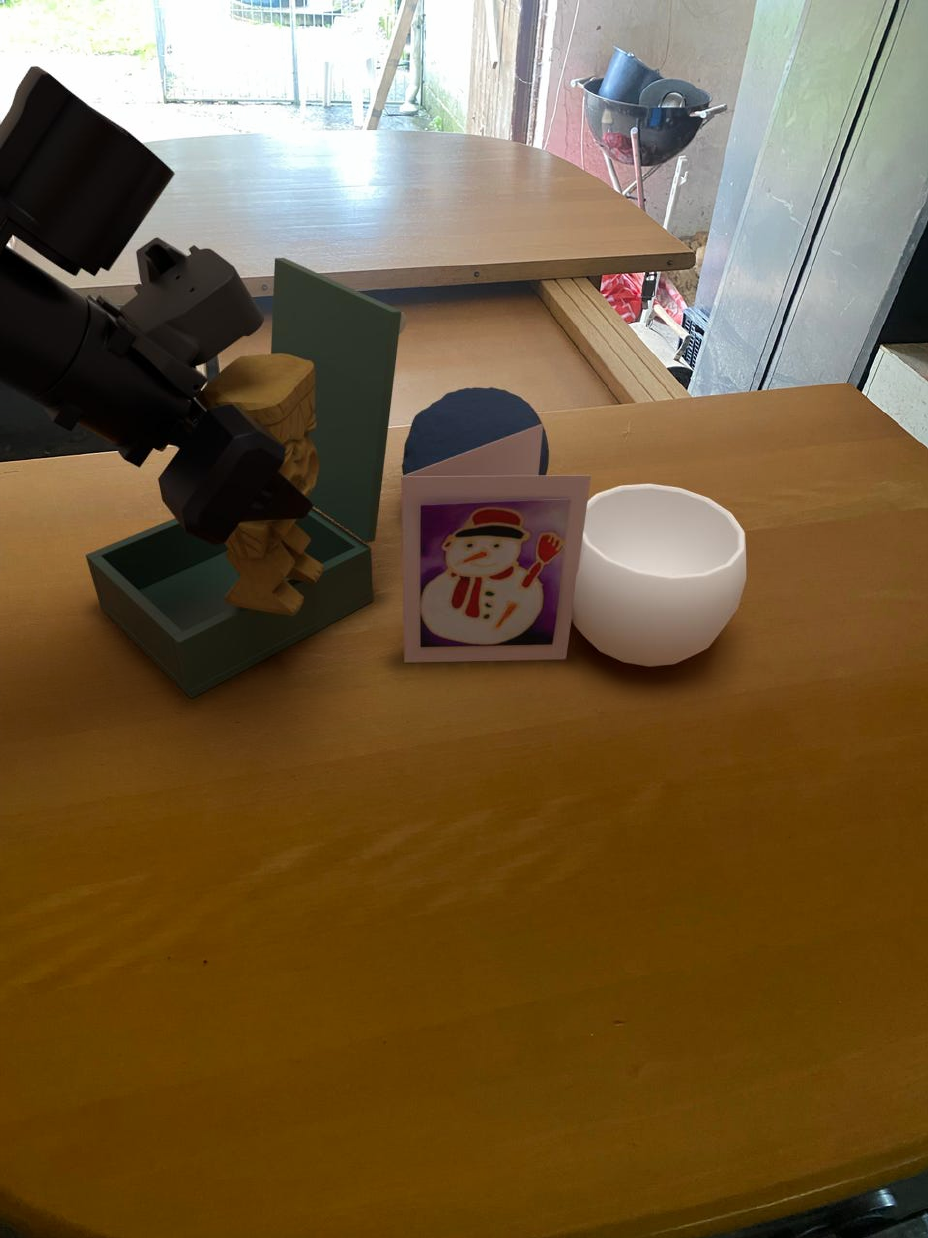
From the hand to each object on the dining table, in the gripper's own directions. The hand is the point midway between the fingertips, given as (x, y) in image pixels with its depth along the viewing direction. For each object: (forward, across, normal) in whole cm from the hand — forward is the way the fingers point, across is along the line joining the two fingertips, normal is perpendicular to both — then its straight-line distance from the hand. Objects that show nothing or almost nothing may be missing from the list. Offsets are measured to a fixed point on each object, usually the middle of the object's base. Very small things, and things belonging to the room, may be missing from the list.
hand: (279, 481), depth 57 cm
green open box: (+8, +6, +11) cm, 15 cm away
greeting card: (+18, -6, +1) cm, 19 cm away
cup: (+24, -13, -6) cm, 28 cm away
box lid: (+4, +7, -5) cm, 10 cm away
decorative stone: (+24, +7, -5) cm, 25 cm away
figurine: (+5, 0, +6) cm, 8 cm away
